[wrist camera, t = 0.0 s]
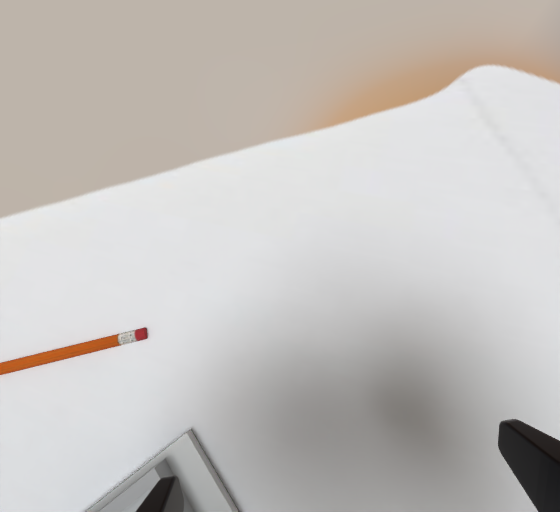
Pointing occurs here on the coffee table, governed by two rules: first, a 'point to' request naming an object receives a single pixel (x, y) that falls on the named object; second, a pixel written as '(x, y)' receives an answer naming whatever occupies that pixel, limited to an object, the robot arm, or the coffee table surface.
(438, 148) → the coffee table surface
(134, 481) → the grey charging dock
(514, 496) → the coffee table surface
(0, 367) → the pencil
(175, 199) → the coffee table surface
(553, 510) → the robot arm
